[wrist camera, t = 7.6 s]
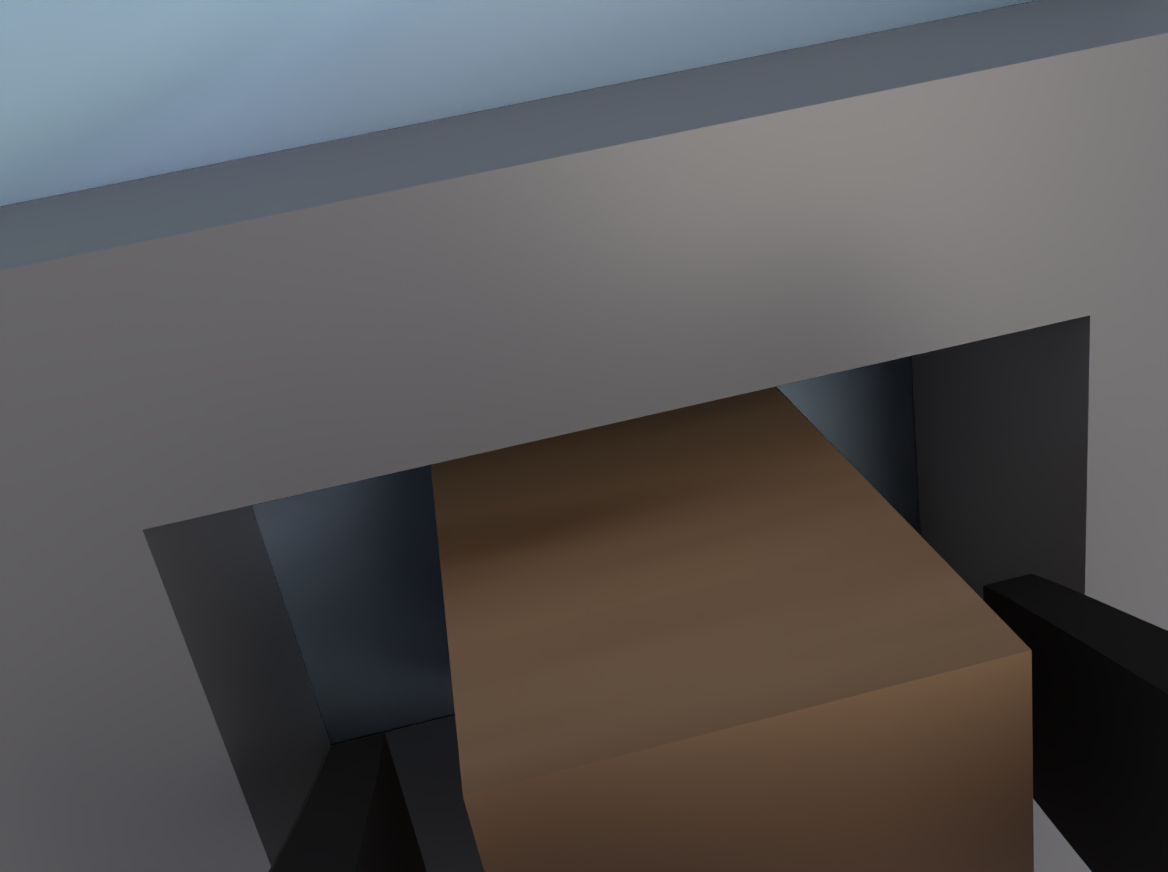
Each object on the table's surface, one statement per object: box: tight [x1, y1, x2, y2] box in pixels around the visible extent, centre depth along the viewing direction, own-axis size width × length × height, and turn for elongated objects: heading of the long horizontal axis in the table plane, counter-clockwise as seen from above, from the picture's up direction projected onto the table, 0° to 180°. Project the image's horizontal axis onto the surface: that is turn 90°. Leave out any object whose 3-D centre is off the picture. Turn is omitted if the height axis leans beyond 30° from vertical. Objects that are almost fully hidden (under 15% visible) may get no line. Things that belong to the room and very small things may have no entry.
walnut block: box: [431, 387, 1034, 872], centre depth 14 cm, size 5×5×9 cm
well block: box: [0, 0, 1168, 872], centre depth 16 cm, size 13×20×5 cm, turn 100°
